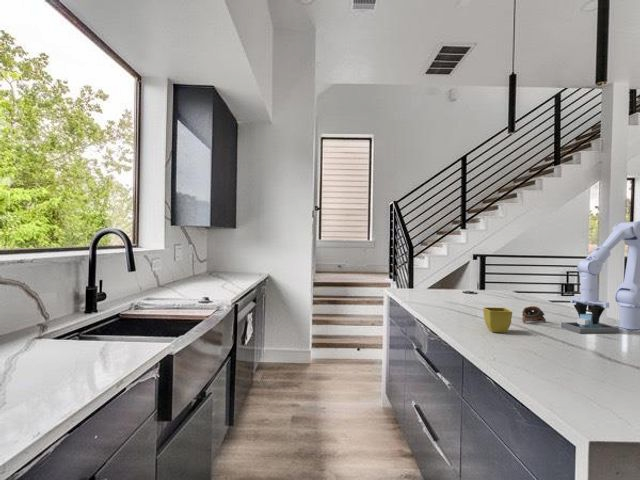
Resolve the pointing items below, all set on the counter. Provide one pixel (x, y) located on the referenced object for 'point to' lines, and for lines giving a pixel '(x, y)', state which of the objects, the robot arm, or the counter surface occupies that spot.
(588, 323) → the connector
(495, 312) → the flower pot
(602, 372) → the counter surface
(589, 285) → the robot arm
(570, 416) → the counter surface
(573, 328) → the tray
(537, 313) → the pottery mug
